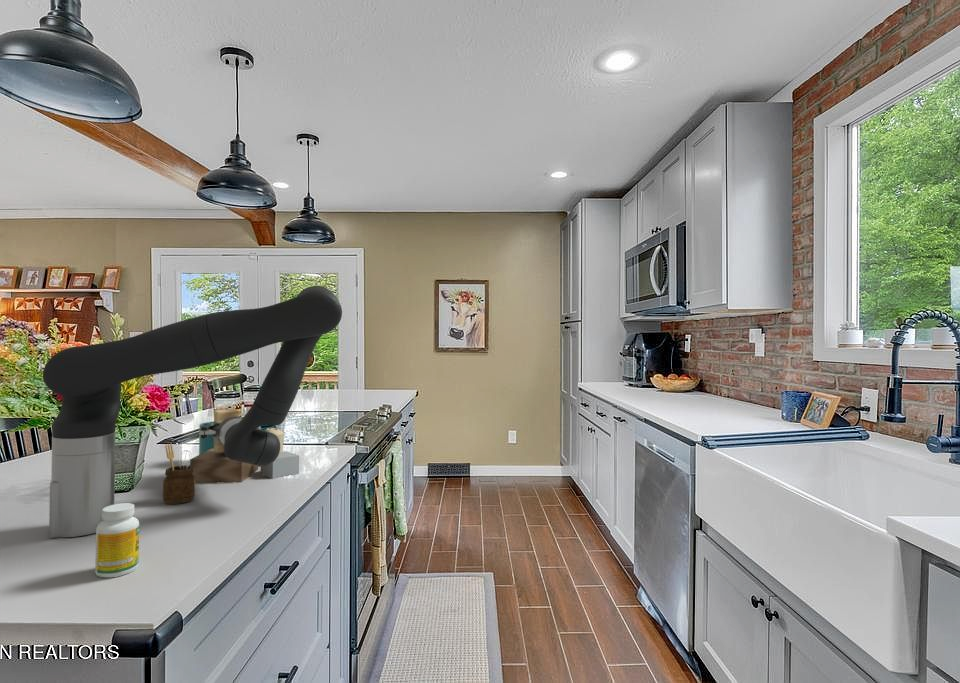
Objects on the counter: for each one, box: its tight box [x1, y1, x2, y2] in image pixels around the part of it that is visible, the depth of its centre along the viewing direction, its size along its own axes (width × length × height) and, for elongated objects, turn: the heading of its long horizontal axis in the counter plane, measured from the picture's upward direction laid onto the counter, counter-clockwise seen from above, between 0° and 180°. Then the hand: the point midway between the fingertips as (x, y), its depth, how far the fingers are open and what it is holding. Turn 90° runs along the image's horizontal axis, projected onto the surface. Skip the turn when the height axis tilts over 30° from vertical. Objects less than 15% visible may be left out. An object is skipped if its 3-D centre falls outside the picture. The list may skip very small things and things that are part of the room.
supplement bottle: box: [94, 502, 140, 578], centre depth 79 cm, size 5×5×10 cm
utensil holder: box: [162, 443, 196, 505], centre depth 113 cm, size 6×6×12 cm
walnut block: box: [189, 448, 259, 484], centre depth 134 cm, size 12×13×6 cm
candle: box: [265, 427, 284, 452], centre depth 147 cm, size 6×6×10 cm
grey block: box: [260, 450, 300, 479], centre depth 137 cm, size 7×7×5 cm
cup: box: [198, 421, 214, 455], centre depth 145 cm, size 9×12×11 cm
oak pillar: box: [213, 408, 240, 453], centre depth 134 cm, size 5×5×10 cm
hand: (224, 425), depth 136 cm, fingers closed on oak pillar, 5 cm apart
